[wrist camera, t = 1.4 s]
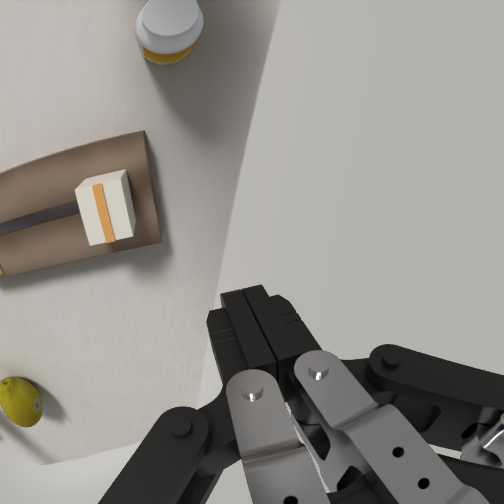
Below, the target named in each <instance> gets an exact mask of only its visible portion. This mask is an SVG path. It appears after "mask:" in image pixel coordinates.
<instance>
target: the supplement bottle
mask: <svg viewBox="0 0 504 504" xmlns="http://www.w3.org/2000/svg"><path fill="white" fill-rule="evenodd" d="M203 23H204V20H203V14H202V11H201V9H200V8H199V5H198V3H197V1H196V0H149V1H148V2H147V3H146V5H145V6H144V8H143V9H142V10H141V11H140V13H139V14H138V16H137V19H136V22H135V34H136V38H137V41H138V44H139V47H140V50H141V52H142V54H143V56H144V57H145V58H146V59H147V60H148V61H150V62H152V63H154V64H157V65H172V64H175V63H177V62H180V61H181V60H183V59H184V58H185V57H186V56H187V55H188V54H189V53H190V52H191V50H192V48H193V46H194V45H195V43H196V41H197V39H198V37H199V36H200V34H201V31H202V28H203Z"/></svg>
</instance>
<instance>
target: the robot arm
mask: <svg viewBox="0 0 504 504" xmlns="http://www.w3.org/2000/svg"><path fill="white" fill-rule="evenodd" d="M220 297H221V304H222V308H220V309H216V310H211V311H209V314H208V318H207V321H206V323H207V327H208V332H209V336H210V341H211V345H212V350H213V354H214V357H215V360H216V364H217V367H218V371H219V374H220V377H221V380H222V384H223V387H222V390H221V392H220V394H219V395H218V396H217V398H216V399H214V400H213V401H212V402H210V403H209V404H207V405H205V406H203V407H202V408H200V409H198V410H196V409H194V408H191V407H175V408H172V409H169V410H167V411H166V412H164V413H163V414H162V415H161V416H160V417H159V418H158V420H157V421H156V423H155V424H154V425H153V427H152V428H151V430H150V431H149V433H148V434H147V436H146V437H145V438H144V440H143V441H142V443H141V444H140V446H139V447H138V448H137V450H136V451H135V453H134V454H133V455H132V457H131V458H130V460H129V461H128V462H127V464H126V465H125V467H124V468H123V469H122V471H121V472H120V474H119V475H118V476H117V478H116V479H115V481H114V482H113V483H112V485H111V486H110V488H109V489H108V490H107V492H106V493H105V495H104V496H103V497H102V499H101V500H100V502H99V503H98V504H205V503H206V501H207V499H208V498H209V496H210V494H211V492H212V490H213V488H214V487H215V485H216V483H217V481H218V479H219V477H220V476H221V474H222V472H223V469H225V468H227V467H229V466H230V465H232V464H234V463H235V462H237V461H238V460H240V459H241V460H242V464H243V468H244V472H245V476H246V480H247V484H248V487H249V491H250V494H251V498H252V502H253V504H504V375H500V374H496V373H492V372H489V371H485V370H481V369H477V368H473V367H469V366H466V365H462V364H459V363H455V362H451V361H447V360H444V359H441V358H437V357H434V356H430V355H427V354H424V353H420V352H416V351H413V350H410V349H407V348H403V347H400V346H397V345H392V344H385V345H381V346H378V347H376V348H375V349H374V350H373V351H372V352H371V354H370V357H369V358H364V359H355V360H341V359H339V358H338V357H337V356H335V355H334V354H332V353H330V352H327V351H323V350H322V349H321V347H320V346H319V344H318V343H317V341H316V340H315V338H314V337H313V336H312V334H311V333H310V331H309V330H308V328H307V327H306V325H305V324H304V322H303V321H302V320H301V318H300V317H299V315H298V313H296V310H295V309H294V307H293V306H292V304H291V303H290V302H289V301H288V300H286V299H285V298H283V297H282V296H280V295H275V296H271V297H269V295H268V294H267V292H266V290H265V289H264V287H263V286H262V285H257V286H252V287H248V288H243V289H241V290H235V291H230V292H226V293H221V294H220ZM285 402H287V403H288V405H289V407H290V409H291V418H290V415H289V413H288V410H287V407H286V405H285ZM291 420H292V421H291ZM292 422H293V423H292ZM293 424H294V425H295V427H296V429H297V431H298V432H299V434H300V436H301V437H302V439H303V440H304V442H305V444H306V445H307V447H308V449H309V450H310V452H311V453H312V455H313V457H314V458H315V460H316V461H317V463H318V465H319V468H320V472H321V476H322V478H323V480H324V482H325V484H326V486H327V487H328V488H329V490H330V492H331V493H326V492H325V489H324V487H323V484H322V482H321V479H320V477H319V475H318V472H317V470H316V467H315V465H314V462H313V460H312V457H311V455H310V453H309V451H308V449H307V447H306V446H305V445H304V444H303V443H301V442H300V441H299V439H298V436H297V434H296V431H295V429H294V426H293ZM428 444H431V445H435V446H439V447H443V448H448V449H452V450H457V451H460V452H462V454H461V456H460V459H456V458H452V457H449V456H445V455H441V454H437V453H435V452H434V451H433V449H432V448H431V447H430V446H429V445H428Z"/></svg>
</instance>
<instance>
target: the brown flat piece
mask: <svg viewBox="0 0 504 504" xmlns="http://www.w3.org/2000/svg"><path fill="white" fill-rule="evenodd" d="M124 169H126V172H127V178H128V183H129V188H130V193H131V198H132V203H133V208H134V213H135V217H136V223H135V229H134V235H133V237H128V238H123V239H119V240H115V241H114V242H109V243H106V242H105V243H101V244H96V245H92V246H90V245H89V241H88V238H87V235H86V231H85V228H84V224H83V221H82V217H81V213H80V209H79V206H78V202H77V198H76V193H75V189H76V188H77V187H78V186H79V185H80V184H81V183H82V182H83V181H84V180H85V179H86V178H90V177H94V176H98V175H102V174H106V173H111V172H115V171H119V170H124ZM161 242H162V237H161V227H160V222H159V217H158V212H157V207H156V201H155V196H154V190H153V184H152V178H151V172H150V166H149V159H148V153H147V146H146V138H145V131H139V132H134V133H129V134H125V135H120V136H116V137H112V138H107V139H103V140H99V141H95V142H92V143H88V144H84V145H81V146H77V147H74V148H70V149H67V150H63V151H60V152H57V153H54V154H51V155H48V156H45V157H42V158H39V159H36V160H33V161H30V162H27V163H24V164H22V165H19V166H16V167H14V168H11V169H9V170H6V171H4V172H1V173H0V278H4V277H8V276H12V275H16V274H20V273H24V272H29V271H33V270H37V269H41V268H45V267H50V266H54V265H58V264H63V263H67V262H72V261H76V260H80V259H85V258H89V257H94V256H99V255H103V254H108V253H112V252H117V251H122V250H127V249H131V248H136V247H141V246H146V245H151V244H156V243H161Z"/></svg>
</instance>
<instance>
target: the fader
mask: <svg viewBox="0 0 504 504" xmlns="http://www.w3.org/2000/svg"><path fill="white" fill-rule="evenodd" d="M75 193H76V198H77V202H78V206H79V209H80V213H81V217H82V221H83V224H84V228H85V231H86V235H87V238H88V241H89V245H90V246H92V245H96V244H101V243H105V242H106V243H109V242H114V241H115V240H119V239H123V238H128V237H133V235H134V229H135V223H136V217H135V213H134V208H133V203H132V198H131V193H130V188H129V183H128V178H127V172H126V169H124V170H119V171H115V172H111V173H106V174H102V175H98V176H94V177H90V178H86V179H85V180H84V181H83V182H82V183H81V184H80V185H79V186H78V187H77V188H76V189H75Z"/></svg>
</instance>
